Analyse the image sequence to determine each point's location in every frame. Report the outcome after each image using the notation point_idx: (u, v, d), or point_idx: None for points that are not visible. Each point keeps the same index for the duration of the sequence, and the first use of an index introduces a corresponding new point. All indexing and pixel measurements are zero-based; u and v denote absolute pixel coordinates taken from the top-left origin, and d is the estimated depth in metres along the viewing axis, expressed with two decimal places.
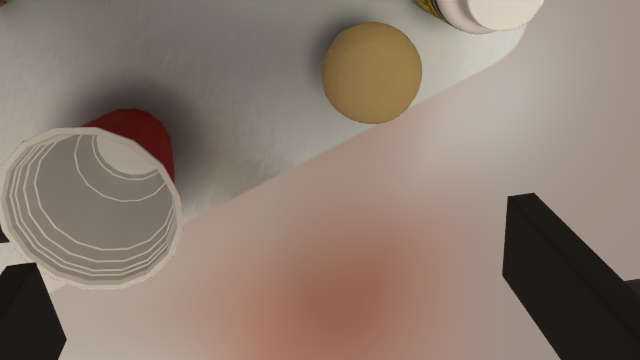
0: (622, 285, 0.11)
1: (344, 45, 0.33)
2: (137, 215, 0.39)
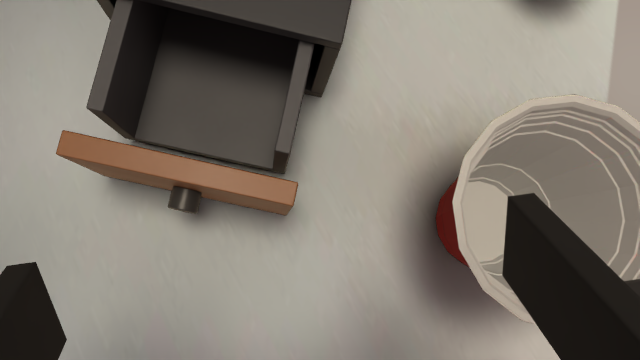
0: (622, 285, 0.11)
1: None
2: None
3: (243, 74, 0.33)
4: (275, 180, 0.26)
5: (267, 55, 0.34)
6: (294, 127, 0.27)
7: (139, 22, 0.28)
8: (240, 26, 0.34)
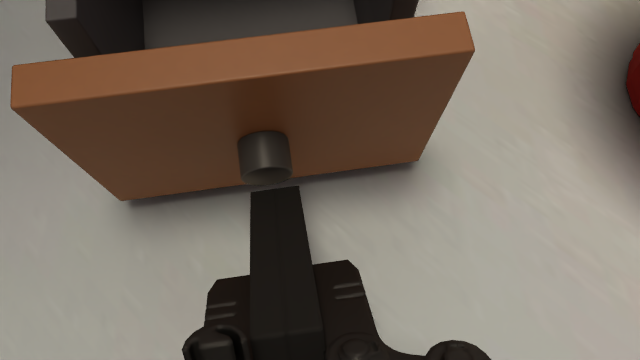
0: (307, 263, 0.13)
1: None
2: None
3: None
4: (424, 19, 0.14)
5: None
6: None
7: None
8: None
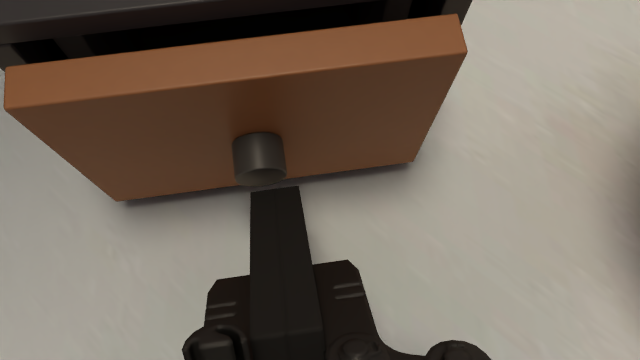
0: (307, 264, 0.13)
1: None
2: None
3: None
4: (417, 21, 0.14)
5: None
6: None
7: None
8: None
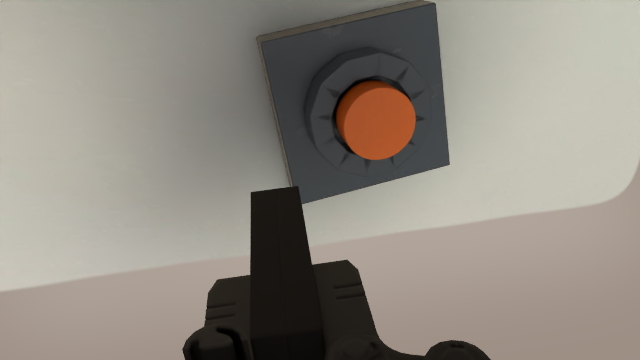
0: (307, 264, 0.13)
1: None
2: None
3: None
4: None
5: None
6: None
7: None
8: None
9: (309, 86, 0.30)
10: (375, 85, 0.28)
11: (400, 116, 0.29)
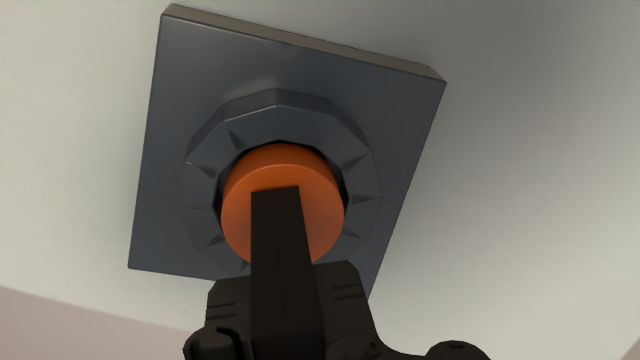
0: (307, 263, 0.13)
1: None
2: None
3: None
4: None
5: None
6: None
7: None
8: None
9: (211, 113, 0.19)
10: (302, 159, 0.17)
11: (318, 220, 0.18)
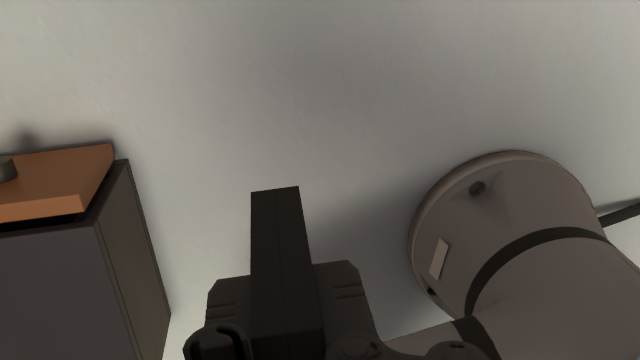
0: (307, 264, 0.13)
1: None
2: None
3: None
4: None
5: None
6: None
7: None
8: None
9: None
10: None
11: None
